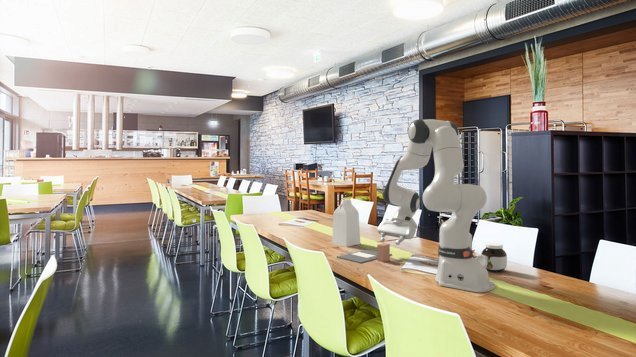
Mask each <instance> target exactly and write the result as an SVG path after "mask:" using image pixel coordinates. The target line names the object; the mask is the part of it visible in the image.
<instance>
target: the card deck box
mask: <svg viewBox="0 0 636 357" xmlns="http://www.w3.org/2000/svg"><path fill="white" fill-rule="evenodd" d="M376 246H377V249H376V251H377V259H376V260H377V262H381V263H385V262H389V261H390V254H391V253H390V250H391V249H390V243H385V242H381V243H379V244H377V245H376Z"/></svg>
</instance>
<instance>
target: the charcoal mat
mask: <svg viewBox="0 0 636 357" xmlns="http://www.w3.org/2000/svg"><path fill="white" fill-rule="evenodd" d="M392 255H393V254H392V253H390V256H392ZM336 258H337V259H341V260H346V261H350V262H354V263H357V264H364V263H367V262H368V263H369V262H371V261H375V260H377V250H374V249H364V250H359V251H354V252H351V253H345V254H342V255H341V254H340V255H337V256H336Z"/></svg>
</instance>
